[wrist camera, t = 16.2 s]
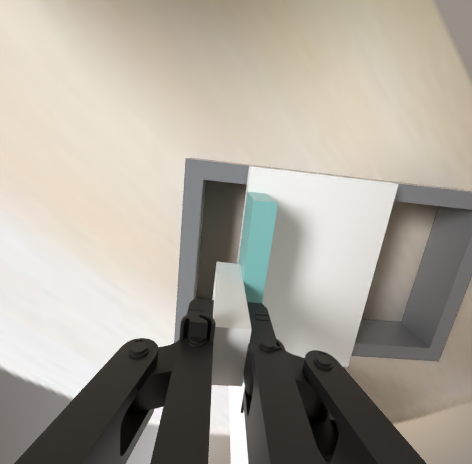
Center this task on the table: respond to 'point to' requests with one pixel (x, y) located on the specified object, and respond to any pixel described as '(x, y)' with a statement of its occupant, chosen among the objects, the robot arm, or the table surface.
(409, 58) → the table surface
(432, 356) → the grey shallow rectangular tray
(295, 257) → the cover
